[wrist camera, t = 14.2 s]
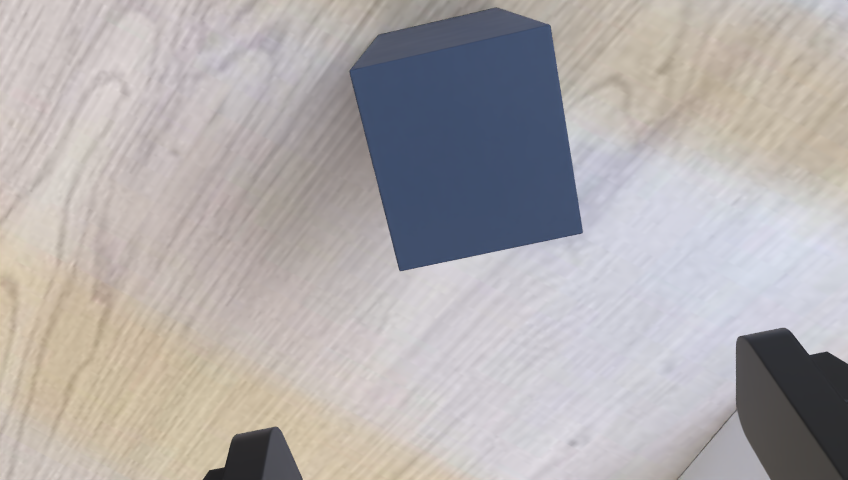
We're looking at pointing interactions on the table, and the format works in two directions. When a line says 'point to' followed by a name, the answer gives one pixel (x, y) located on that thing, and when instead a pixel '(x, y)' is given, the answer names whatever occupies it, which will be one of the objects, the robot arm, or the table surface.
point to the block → (727, 457)
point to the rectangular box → (467, 136)
